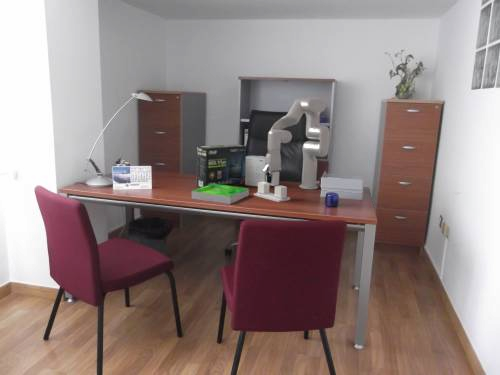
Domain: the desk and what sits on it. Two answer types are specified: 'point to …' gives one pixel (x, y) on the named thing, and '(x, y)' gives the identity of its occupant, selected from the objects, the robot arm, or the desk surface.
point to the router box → (220, 165)
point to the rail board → (278, 196)
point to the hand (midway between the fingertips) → (272, 181)
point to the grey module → (274, 178)
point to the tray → (220, 193)
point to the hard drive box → (254, 170)
